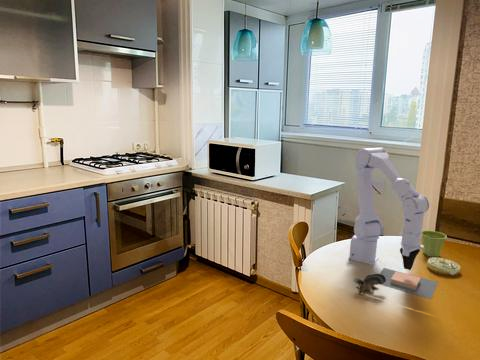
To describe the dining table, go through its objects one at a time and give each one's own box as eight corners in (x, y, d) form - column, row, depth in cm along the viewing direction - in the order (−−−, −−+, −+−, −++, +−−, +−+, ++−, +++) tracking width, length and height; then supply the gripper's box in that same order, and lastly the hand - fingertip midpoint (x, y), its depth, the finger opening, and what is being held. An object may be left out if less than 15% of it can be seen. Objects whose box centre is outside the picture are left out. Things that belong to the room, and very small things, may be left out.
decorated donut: (458, 280, 127) (459, 270, 126) (424, 272, 133) (425, 262, 132) (460, 269, 135) (462, 260, 134) (428, 262, 141) (429, 253, 140)
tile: (395, 275, 129) (390, 283, 123) (395, 271, 128) (390, 278, 123) (419, 282, 124) (415, 290, 119) (420, 277, 124) (416, 285, 118)
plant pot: (420, 247, 155) (423, 228, 153) (445, 253, 150) (448, 233, 148) (416, 255, 147) (418, 235, 146) (442, 261, 142) (445, 240, 140)
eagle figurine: (374, 299, 112) (391, 286, 116) (363, 277, 113) (380, 265, 117) (357, 301, 118) (374, 288, 123) (347, 280, 119) (363, 269, 124)
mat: (372, 283, 124) (372, 282, 124) (383, 268, 135) (383, 267, 135) (431, 300, 113) (431, 299, 113) (437, 283, 124) (438, 282, 124)
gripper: (421, 240, 113) (416, 280, 116) (429, 228, 125) (424, 264, 127) (397, 235, 117) (392, 273, 120) (407, 223, 129) (403, 259, 132)
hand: (407, 268), depth 124 cm, fingers closed
